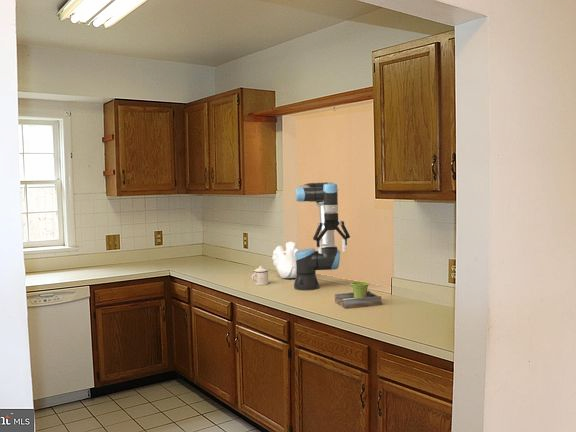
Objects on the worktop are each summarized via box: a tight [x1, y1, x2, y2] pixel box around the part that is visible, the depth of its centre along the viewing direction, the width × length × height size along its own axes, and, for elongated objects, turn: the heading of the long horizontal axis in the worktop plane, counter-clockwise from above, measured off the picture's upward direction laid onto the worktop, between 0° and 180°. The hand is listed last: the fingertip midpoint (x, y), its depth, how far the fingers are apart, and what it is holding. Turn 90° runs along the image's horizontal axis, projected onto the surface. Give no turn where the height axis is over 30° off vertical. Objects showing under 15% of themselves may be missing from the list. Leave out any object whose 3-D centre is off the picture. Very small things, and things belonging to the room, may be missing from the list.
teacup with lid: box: [251, 265, 269, 286], centre depth 342 cm, size 12×9×12 cm
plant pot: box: [350, 281, 370, 299], centre depth 283 cm, size 9×9×9 cm
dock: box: [334, 290, 382, 310], centre depth 283 cm, size 14×20×4 cm
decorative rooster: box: [271, 241, 300, 279], centre depth 362 cm, size 25×16×25 cm, turn 32°
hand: (332, 252), depth 288 cm, fingers open, 13 cm apart
